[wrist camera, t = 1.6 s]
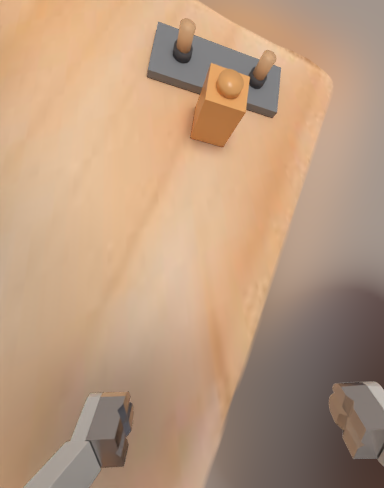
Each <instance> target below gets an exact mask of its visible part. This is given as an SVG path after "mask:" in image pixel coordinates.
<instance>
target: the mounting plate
mask: <svg viewBox="0 0 384 488" xmlns="http://www.w3.org/2000/svg"><path fill="white" fill-rule="evenodd" d="M195 28H196V26H195V24H194V22H193V21H192V20H190V19H187V18H185V19H182V20H181V22H180V28H179V29H177V28H174V27H171V26H169V25H166V24H163V23H161V22H158V26H157V30H156V35H155V39H154V44H153V48H152V53H151V58H150V62H149V67H148V76H147V77H149V78H152V79H155V80H158V81H161V82H164V83H167V84H170V85H173V86H176V87H179V88H182V89H185V90H189V91H192V92H195V93H198V94H200V93H201V90H202V87H203V84H204V81H205V78H206V76H207V73H208V70H209V67H210V64H211V63H213V64H216V65H219V66H222V67H224V68H227V69H233V70H235V71H237V72H238V73H241V74H244V75H247V76H249V77H250V81H249V89H248V97H247V106H246V109H247V110H250V111H253V112H256V113H259V114H262V115H265V116H268V117H271V118H273V117H274V115H275V114H276V113H277V106H278V95H279V84H280V73H281V68H280V67H277V66H275V65H273V64H274V63H275V61H276V55H275V54H274V53H273V52H272V51H270V50H266V51H264V53H263V55H262V57H261V58H260V60H259V59H256V58H254V57H251V56H248V55H246V54H243V53H240V52H238V51H235V50H232V49H230V48H227V47H224V46H222V45H219V44H216V43H214V42H211V41H208V40H206V39H203V38H201V37H198V36H195V35H194V33H195Z"/></svg>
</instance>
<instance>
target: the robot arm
mask: <svg viewBox="0 0 384 488" xmlns="http://www.w3.org/2000/svg"><path fill="white" fill-rule="evenodd" d="M332 389H333V391H334V393H333V394H332V395H331V396H330V398H329V407H330V412H331V414H332V417H333V419H334V421H335V423H336V424H337V425H338V426H339V427H340V428H341V429H343V436H342V437H343V439H344V441H345V443H346V445H347V447H348V449H349V451H350V453H351V455H352V457H353V459H378V461H379V462H380V463H381V464H382V465H383V466H384V390H383V388H382V387H381V386H380V385H379V384H378V383H377V382H373V381H372V382H348V383H336V384H334V385H333V388H332ZM129 401H130V394H129V392H99V393H90V394H89V396H88V397H87V399H86V402H85V404H84V407H83V409H82V412H81V414H80V417H79V419H78V422H77V425H76V427H75V430H74V432H73V435H72V437H71V440H70V441H68V442H65V443H64V444H63V445H62V446H61V447H60V449H59V450H58V451H57V452H56V453H55V454H54V455H53V456H52V457H51V458H50V459H49V460H48V461H47V463H46V464H45V465H44V466H43V467H42V468H41V469H40V470H39V471H38V472H37V473H36V474H35V475H34V476H33V478H32V479H31V480H30V481H29V482H28V483H27V484H26V485H25V486H24V487H23V488H89V487H90V486H91V484H92V483H93V481H94V480H95V478H96V477H97V475H98V474H99V472H100V471H101V468H107V467H122V466H124V464H125V459H126V454H127V450H128V445H129V444H128V441H127V438H126V437H127V436H128V434H129V433H130V432H131V430H132V424H133V414H134V412H133V405H132V403H131V402H129Z"/></svg>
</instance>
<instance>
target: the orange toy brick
mask: <svg viewBox="0 0 384 488" xmlns="http://www.w3.org/2000/svg"><path fill="white" fill-rule="evenodd" d="M249 81H250V77H249V76H247V75H244V74H241V73H238V72H237V71H235V70H233V69H227V68H224V67H222V66H219V65H216V64H213V63H211V64H210V67H209V70H208V73H207V76H206V78H205V81H204V84H203V87H202V90H201V93H200V96H199V99H198V102H197V104H196V107H195V113H194V119H193V125H192V131H191V137H190V138H192V139H196V140H199V141H203V142H206V143H210V144H213V145H217V146H220V147H223V146H224V145H225V143H226V142H227V140H228V139H229V137H230V136H231V134H232V133H233V131H234V130H235V128H236V126H237V125H238V123H239V122H240V120H241V119H242V117H243V116H244V114H245V113H246V106H247V97H248V89H249Z"/></svg>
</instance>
